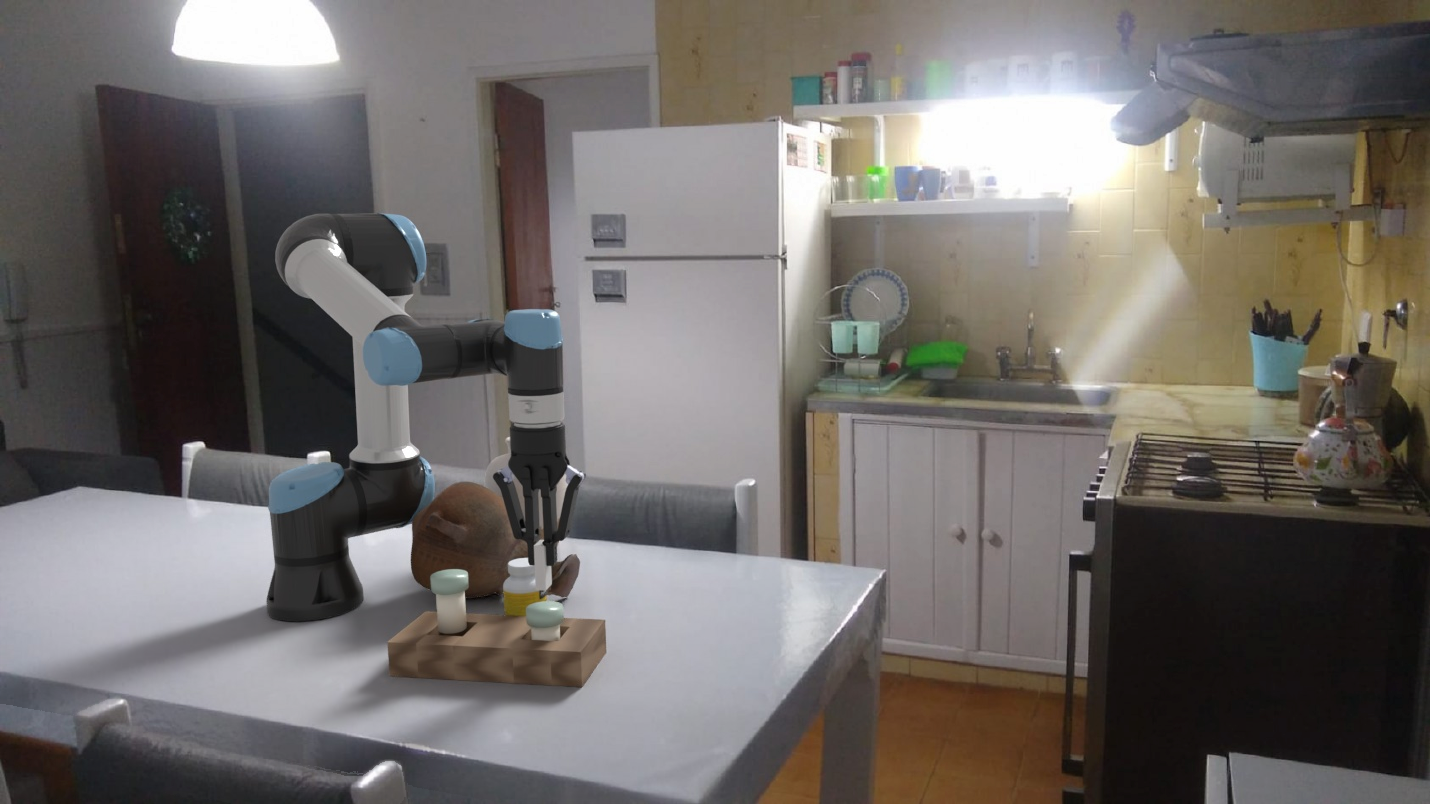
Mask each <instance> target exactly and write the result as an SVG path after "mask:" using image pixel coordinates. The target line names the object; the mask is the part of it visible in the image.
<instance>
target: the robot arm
mask: <svg viewBox="0 0 1430 804" xmlns="http://www.w3.org/2000/svg"><path fill="white" fill-rule="evenodd" d="M274 261H275V262H274V263H275V265H276V270H277V272H278V274H279V276H280V278H281V279H282V281H283V282H284V284H285V285H286V286H287V287H288V288H290V290H292V292H294V293H295V294H297V296H300V297H302V298H307V299H311V300H313V301H314V302H315V304H316V305H318V306H319V307H320V308H321V309H322V310H323V311H324V312H325V313H326V314H327V315H328V316H330V317H331V318H332V319H333V320H334V321H335V322H336V323H337V324H338V325H339V326H340V327H341V328H342V329H344V331H346V332H347V333H348V334H349V335H350V336H351V337H352V349H353V350H352V353H353V371H354V388H355V389H354V390H355V407H356V408H355V412H356V428H357V429H356V430H357V432H356V433H357V446H356V447H355V448H353V450H352V451H351V452H349V454H348V457H349V467H348V468H343V466H342V465H341V464H340V463H339V462H338V463H337V462H332V461H324V462H319V463H308V464H304V465H300V466H297V467H294V468H291V469H288V470H285V471H284V472H281V473H280V474H278V475H276V477H275V478H273V479H272V480H271V481H270V483H269V486H268V511H269V516H270V517H269V518H270V519H269V520H270V525H271V526H270V527H271V537H272V538H271V539H272V540H271V541H272V548H273V549H272V550H273V558H274V559H273V561H274V569H273V573H272V576H271V579H270V580H271V581H270V583H269V584H270V585H269V588H268V591H267V597H266V601H265V602H266V611H267V615H268V616H270V618H272V619H275V620H280V621H285V622H309V621H315V620H316V621H317V620H323V619H327V618H332V617H336V616H340V615H342V614H345V613H348V612H350V611H352V610H355V609H357V608H358V607H360V606H361V604H363V602H364V588H363V584H362V582H361V579H360V578H359V575H358V573H357V571H356V569H355V567H354V564H353V562H352V559H351V557H350V550H349V549H350V548H349V539H350V538H355V537H360V536H363V535H370V534H372V533H378V532H382V531H387V530H393V529H402V528H404V527H407V526H409V525H412V521H413V518H414V517H415V515H416V514H417V513H419V512H420V511H421V510H423V509H424V508H425V507H427V506H428V505H429V504H430V503H431V502H432V501H433V500H434V499H435V490H436V489H435V488H436V485H435V484H436V483H435V476H434V474H432V471H433V469H432V467H431V464H430V463H429V461H427V459H425V458H424V457H422V456H421V455H420V454H421V453H420V449H419V448H417V447H416V445H414V444H413V443H412V442H411V436H410V435H411V431H410V412H409V411H410V409H409V407H410V406H409V403H410V402H409V387H408V386H409V385H412V384H421V383H428V382H435V381H442V380H451V379H459V378H471V377H477V376H485V375H487V376H488V375H499V376H501V375H502V376H507V397H508V419H509V421H510V422H511V423H512V424H511V425H510V427H509V437H510V448H511V457H510V459H509V461H508V466H507V467H505V468H504V469H501V470H499V471H498V472H496V473H494V474H493V479H494V481H495V482H496V484H497V485H498V486H499V488H500V490H501V493H502V497H503V500H504V504H505V507H506V511H507V514H508V518H509V521H510V525H511V529H512V532H513V536H514V538H515V539H521V540H524V541H525V542H526V543H527V547H528V563H529V565H535V586H536V590H544V591H546V590H547V589H548V588H549V587H550V586H551V585H552V573H551V566H554V565H555V564H556V562H558V546H557V542H558V541H559V542H562V541H564V540H565V539H566V538H567V537H568V536H569V535H570V532H571V529H572V523H573V520H574V519H573V518H574V514H575V508H576V504H577V499H578V495H579V489H580V487H581V485H582V484H583V482H584V481H585V479H586V477H587V474H586V472H585V471H583V470H580V471H578V470H577V469H575V467H573V466H571V464H570V463H571V462H570V460H569V458H568V456H567V453H566V452H567V451H566V450H567V449H566V448H567V447H566V444H567V441H566V425H565V424H564V423H563V422H562V421H563V420H564V419H565V417H566V416H565V414H566V413H565V397H564V395H565V392H564V356H563V355H564V352H563V350H564V349H563V346H564V345H563V344H564V337H563V335H562V325H561V324H562V323H561V316H560V314H559V312H557V311H555V310H553V309H549V308H548V309H539V308H530V309H529V308H527V309H525V308H524V309H514V310H509V311H507V313H506V314H505V318H504V321H501V320H495V319H493V318H479V319H472V320H469V321H467V322H461V323H449V324H447V323H446V324H436V325H435V324H434V325H422V324H420V322H418V321H417V320H415V319H414V318H413V317H412V316H410V315H409V314H408V313H407V312H406V309H405V307H406V306H405V305H406V303H408V301H409V300H411V298H412V297H413V296H414V285H415V284H417V283H419V282H420V281H422V280H423V278H424V276H425V272H426V270H427V254H426V248H425V244H424V240H423V238H422V235H421V233H420V231H419V230H418V229H417V227H416V225H415V224H414V223H413V222H412V221H411V220H410V219H409V218H408V217H406V216H404V215H401V214H393V213H382V212H377V213H371V212H370V213H332V214H331V213H316V214H315V213H314V214H312V215H306V216H305V217H302V218H300V219H297V220H296V221H294V222H293V223H292V224H291V225H289V226H288V227H287V228H286V230H284V231H283V233H282V235H280V237H279V240H278V242H277V245H276V248H275V260H274ZM513 474H514V475H515V477H516V478H517V479H518V481H519V482H520V483H521V485H522V486H523V496H524V503H525V519H524V516H523V512H522V508H521V505H520V501H519V498H518V494H517V491H516V487H515V484H514V482H513V479H514V476H513ZM564 474H566V483H567V484H568V486H567V488H566V491H565V496H564V501H563V505H562V510H561V515H560V520H559V525H558V530H557V508H556V492H557V484H558V483H559V481H560V480H561V478H562V477H563V476H564ZM539 489H540V490H541V497H542V507H543V531H544V540H539V538H540V537H541V535H542V534H540V524H539V498H538V493H539Z"/></svg>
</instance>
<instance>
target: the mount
mask: <svg viewBox="0 0 1430 804" xmlns="http://www.w3.org/2000/svg"><path fill="white" fill-rule="evenodd" d="M466 622H467V628H466V629H465V630H464V631H461V632H458V633H452V634H445V633H441V632H439V631H438V620H437V611H424V612H423V613H422V614H420V615H419V616H418V617H417V618H415V619H414V620H413V621H412V622H411V623H409V624H408V625H407V626H405V627H404V628H403V629H402V630H401V631H399V632H398V633H397V634H395V635H394V636H393V637H392V638H390V639H389V640H388V641H387V642H386V643H387V644H386V645H387V655H388V656H387V657H388V671H389V677H397V678H398V677H401V678H415V679H416V678H418V679H434V680H435V679H437V680H451V681H452V680H454V681H470V682H471V681H472V682H474V681H475V682H485V683H486V682H488V683H505V684H506V683H507V684H519V685H538V686H541V685H543V686H557V687H575V688H583V686H585V684H586V683H587V681H588V679H589V678H590V676H591V675H592V674H593V672H594V671H595V670H596V668H597V667H598V665H599V664H600V662H601V661H602V660H603V658H604V657H605V655H606V654H607V634H606V633H607V632H606V630H607V629H606V619H599V618H598V619H597V618H596V619H595V618H575V617H564V621H563V622H562V623H561V624H560V639H559V641H544V640H532V636H531V626H529V625H527V623H526V616H513V615H505V614H492V613H491V614H488V613H487V614H485V613H467V612H466Z"/></svg>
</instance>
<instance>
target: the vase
mask: <svg viewBox="0 0 1430 804" xmlns="http://www.w3.org/2000/svg"><path fill="white" fill-rule="evenodd" d="M504 442H505V444H506V445H507V453H505V454H502V455H498V456H497V457H494V459H493V460H491V461H490V462H489V464H488V466H487V467H486V471H485V474H484V482H483V486H484V487H486V488H488V489H490V490H491V491H493V492H495V493H496V494H497V495H499V496H500V497H501V498H503V497H502V493H501V490H500V488H499V486H498V485H497V484H496V482H495V481H494V479H493V474H494V473H496V472H498V471H499V470H501V469H504V468H505V467H507V466H508V461H509V459H510V457H511V448H510V436H508V437H506V438H505V439H504ZM513 476H514V479H513V482H514V484H515V487H516V491H517V494H518V498H519V501H520V505H521V508H522V512H523V516H524V519H525V503H524V496H523V486H522V485H521V483H520V482H519V481H518V479H517V478H516V477H515V475H514V474H513ZM567 486H568V484H567V483H566V474H564V476H563V477H562V478H561V480H560V481H559V483H558V484H557V492H556V508H557V530H558V525H559V520H560V515H561V510H562V505H563V501H564V496H565V491H566V488H567ZM538 498H539V524H540V534H542V535H541V537H540V538H539V540H544V531H543V507H542V497H541V490H540V489H539V493H538ZM559 543H560V541H558V542H557V547H558V545H559Z"/></svg>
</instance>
